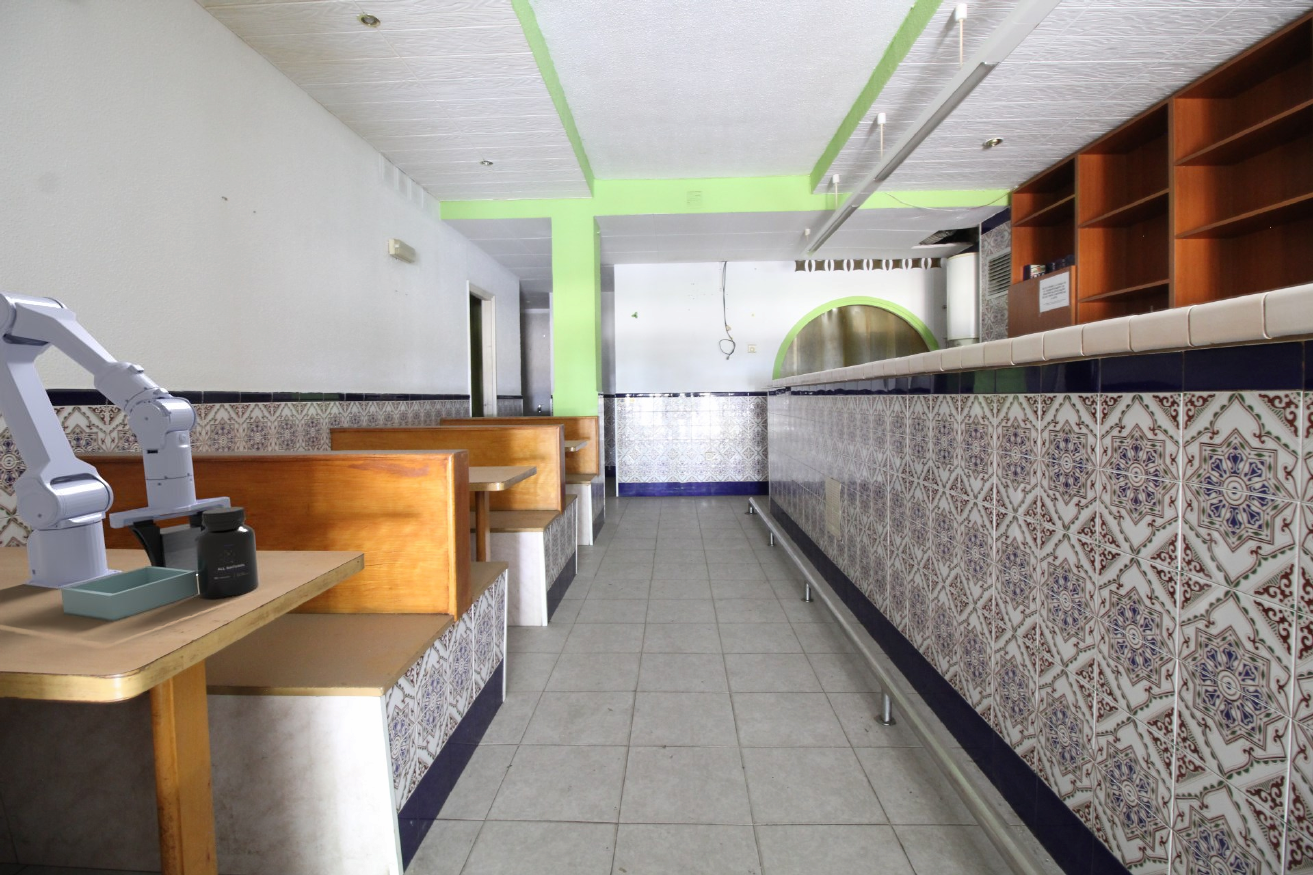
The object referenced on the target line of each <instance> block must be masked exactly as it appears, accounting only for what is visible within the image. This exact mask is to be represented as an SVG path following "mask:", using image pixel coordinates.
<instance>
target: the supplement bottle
mask: <svg viewBox="0 0 1313 875" xmlns="http://www.w3.org/2000/svg"><path fill="white" fill-rule="evenodd" d="M202 518H203V522H202V525H203V526H205V530H203V531H202V532H200V533H199V534H198V535H197V537H196V539H195V547H196V560H197V572H198V575H197V585H198V595H199V597H200V599H203V600H206V601H208V600H209V601H210V600H211V601H212V600H224V599H229V598H235V597H239V596H243V595H245V594H248V593H252V592H254V591H255V590H257V589H258V587H259V574H258V573H259V572H258V560H257V545H256V535H255V534H256V533H255V530H254V529H253V527H250V526H249V525H247V524H245V522H246V519H247V518H246V514H245V508H244V507H243V506H242V507H241V506H231V507H227V508H218V509H212V510H208V511H204V512H203V513H202Z"/></svg>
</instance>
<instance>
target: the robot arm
mask: <svg viewBox="0 0 1313 875" xmlns="http://www.w3.org/2000/svg"><path fill="white" fill-rule="evenodd" d="M52 346H53V347H56V348H57V350H59V351H61V352H62V353H63V354H65V355H66V356H67V357H68V358H70V359H71V360H73V361H74V362H76V363H77V364H78V365H79V366H81V367H82V368H83V369H85V370H86V371H87V372H89V373H90V374H91V375H93V387H94V388H95V389H96V390H97V391H99V392H100V393H101V394H102V395H103V396H104V397H106V398H107V399H108V400H109V401H110V402H111V403H113V404H114V405H115V406H116V407H117V408H118V409H120V410H121V411H122V412H123V413H124V414H126V415H127V416H128V417H129V418H127V419H126V421H127V422H126V423H127V426H128V427H129V429H130V430H131V431H132V433H133V434H134V435H135V436H136V437H137V443H138V444H137V445H138V447H140V448H141V450H142V459H143V469H144V477H145V484H146V485H145V487H146V495H147V504H148V506H147V507H141V508H137V509H135V508H134V509H131V510H125V511H120V512H113V513H109V514H108V515H109V517H108V518H109V525H110V528H113V529H121V528H124V527H128V529H129V531H130V532H131V533H132V534H133V535H134V537H135V538H136V539H137V540H138V542H139V543H140V545H141V547H142V548H143V550H144V551H145V553H146V556H147V557H148V560H149V562H150V566H154V567H162V557H161V552H160V529H161V526H158V525H157V523H156V522H157V521H162V520H168V519H175V518H180V517H186V516H188V521H189V524H190V525H194V526H198V527H200V528H201V532H202V531H203V530H205V526H203V525H202V522H203V518H202V513H203V512H204V511H208V510H212V509H218V508H227V507H232V505H231V499H230V498H231V497H228V496H220V497H213V498H203V499H202V498H201V499H197V498H196V488H195V479H194V467H193V459H192V458H193V457H192V448H191V440H190V438H191V437H190V436H191V435H190V432H191V431H192V430H193V429H194V428H195V427H196V425H197V422H198V414H197V410H196V409H195V406H193V405H192V404H191V402H190V401H189V400H188V399H187V398H185V397H179V396H177V397H176V396H173V395H171V393H170V394H169V391H168V390H167V389H166V388H164V387H161V386H159V385H158V384H157V383H156V382H154V380H152V379H151V378H150V377H149V376H147V374H145V373H144V372H145V371H146V370H145V369H144V367H142V366H141V365H140V364H133V363H132V362H128V361H118V360H116V359H115V358H114V356H112V354H110V353H109V352H108V351H107V350H106V349H105V348H104V346H102V345H101V344H100V343H99V342H98V341H97V340H96V339H95V338H94V337H93V336H92V335H91V334H90V333H89V332H88V331H87V330H86V329H85V328H84V327H82V325H81V324H80V323H79V322H77V314H76V312H74V311H72V310H71V309H70V308H67V306H66V304H64V303H63V302H62V301H60V300H59V299H56V298H54V297H50V296H48V297H47V296H43V297H41V296H35V295H34V296H33V295H27V294H20V293H15V292H8V291H7V292H6V291H0V413H1V416H2V418H3V421H4V422H5V424H6V427H7V429H8V431H9V433H10V436H11V438H12V440H13V442H14V444H15V446H16V448H17V451H18V453H19V454H20V457H21V459H22V462H23V463H24V466H25V468H26V469H25V471H24V472H23V473H22V474H21V475H20V476H19V477H18V478H17V480H16V481H14V483H13V484H12V488H13V490H14V491H15V492H14V493H15V496H16V511H17V514H18V515H19V517H20V518H21V520H22V521H23V522H24V523H25V524H27V525H28V526H30V529H31V531H32V532H30V534H29V536H28V537H27V540H26V551H27V552H26V553H27V559H28V560H27V561H28V568H29V575H30V576H29V577H30V580H26V581H23V582H22V584H23V585H27V586H34V587H35V586H36V587H42V588H49V589H55V590H56V589H57V590H59V589H60V590H61V589H63V588H67V587H71V586H75V585H78V584H82V583H86V582H90V581H94V580H97V579H101V578H105V577H109V576H113V575H116V574H120V573H123V571H122V570H120V569H109V568H108V562H107V560H108V559H107V552H106V546H105V537H104V528H103V527H104V526H103V520H102V519H106V512H108V510H110V508H111V507H112V505H113V502H114V493H113V490H112V487H111V485H109V483H108V482H107V481H105V479H103V478H102V476H100V474H99V473H98V471H97V468H96V467H95V466H93V465H91V464H90V463H87V462H85V461H84V460H81V459H80V458H77V457H76V455H75V454H74V450H73V449H72V445H71V444H70V442H69V440H68V437H67V435H66V433H65V431H64V428H63V427H62V425H61V422H60V419H59V417H58V415H57V413H56V411H55V408H54V406H53V405H52V403H51V401H50V398H49V396H48V393H47V391H46V389H45V387H44V386H45V385H43V383H42V380H41V378H40V376H39V374H38V371H37V369H36V367H35V364H34V362H35V360H36V359H37V357H38V356H41V355H43V354H44V353H45V352H46V351H47V350H48V349H50V348H51V347H52Z"/></svg>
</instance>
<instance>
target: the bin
mask: <svg viewBox="0 0 1313 875" xmlns="http://www.w3.org/2000/svg"><path fill="white" fill-rule="evenodd" d="M60 591H61V597H62V598H61V599H62V606H63V614H66V615H71V616H78V617H85V618H90V619H97V620H102V621H103V620H104V621H110V622H115V621H118V620H119V621H120V620H121V619H126V618H128V617H131V616H134V615H138V614H140V613H144V612H146V611H149V610H152V609H156V608H159V607H162V606H164V605H168V604H171V603H175V602H178V601H180V600H184V599H187V598H189V597H193V596H196V595H199V584H198V575H196V571H190V570H181V569H172V568H163V567H154V566H151V565H147V566H144V567H141V568H136V569H131V570H128V571H125V572H122V573H119V574H115V575H112V576H108V577H104V578H100V579H96V580H93V581H89V582H85V583H81V584H77V585H74V586H70V587H66V588H62V589H60Z"/></svg>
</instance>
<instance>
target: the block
mask: <svg viewBox="0 0 1313 875" xmlns="http://www.w3.org/2000/svg"><path fill="white" fill-rule="evenodd" d="M200 532H201V528H200V527H198V526H194V525H190V523H184V524H179V525H174V526H170V527H163V528H160V552H161V557H162V567H163V568H172V569H181V570H190V571H196V574H198V572H197V560H196V547H195V539H196V537H197V535H198V534H199V533H200Z"/></svg>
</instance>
